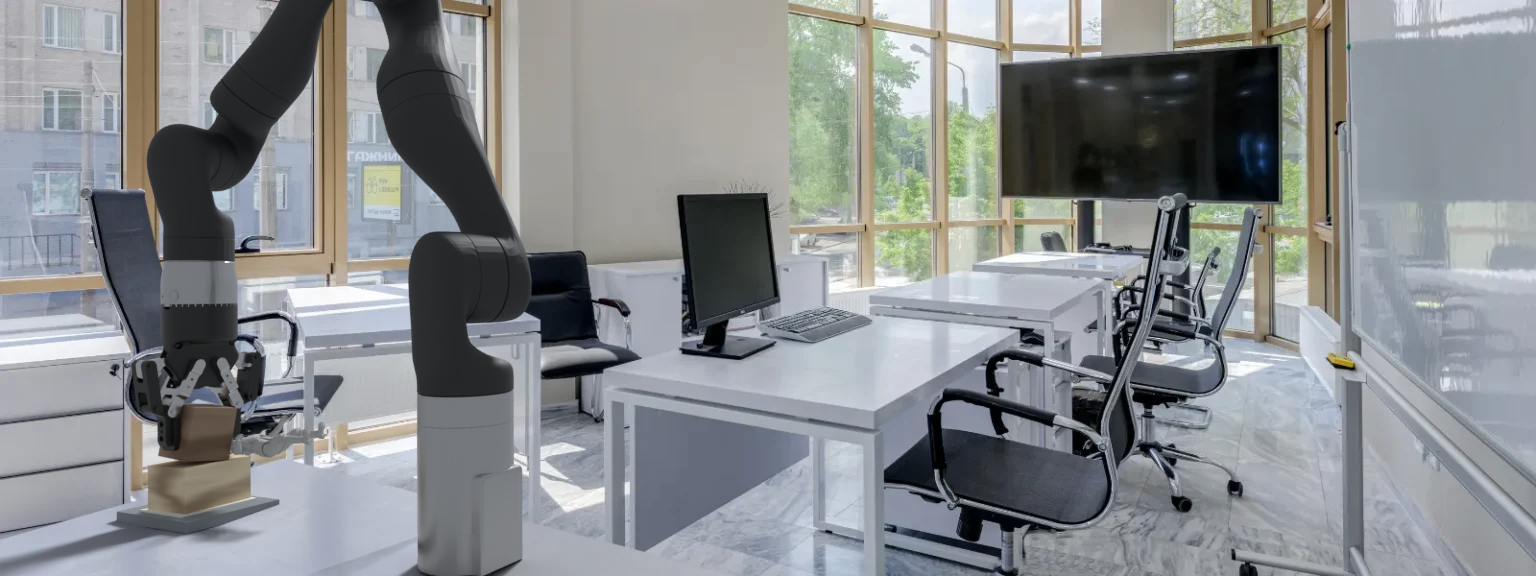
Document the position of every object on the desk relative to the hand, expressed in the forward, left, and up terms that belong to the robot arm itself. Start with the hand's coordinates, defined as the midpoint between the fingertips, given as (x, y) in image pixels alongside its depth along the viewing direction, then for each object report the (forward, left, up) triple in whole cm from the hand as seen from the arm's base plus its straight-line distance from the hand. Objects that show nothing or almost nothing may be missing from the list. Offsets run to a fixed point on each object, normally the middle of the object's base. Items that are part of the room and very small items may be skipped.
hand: (200, 444), depth 102 cm
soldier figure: (-13, -5, 0) cm, 13 cm away
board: (0, 0, -8) cm, 8 cm away
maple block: (0, 0, -7) cm, 7 cm away
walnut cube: (0, +1, -1) cm, 2 cm away
